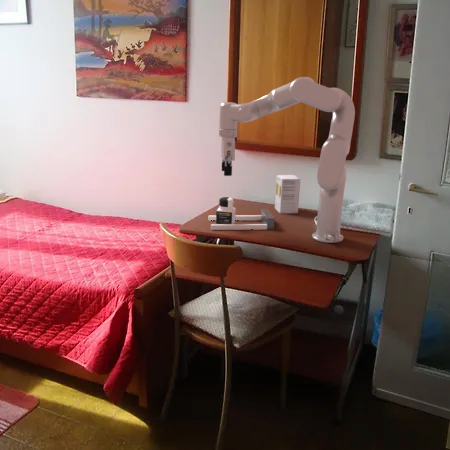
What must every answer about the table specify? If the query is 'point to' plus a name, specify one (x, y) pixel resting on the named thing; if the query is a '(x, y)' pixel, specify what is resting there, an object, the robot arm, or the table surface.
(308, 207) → the table surface
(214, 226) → the guide rails
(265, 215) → the end stop
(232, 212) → the medicine bottle
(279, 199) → the supplement box
